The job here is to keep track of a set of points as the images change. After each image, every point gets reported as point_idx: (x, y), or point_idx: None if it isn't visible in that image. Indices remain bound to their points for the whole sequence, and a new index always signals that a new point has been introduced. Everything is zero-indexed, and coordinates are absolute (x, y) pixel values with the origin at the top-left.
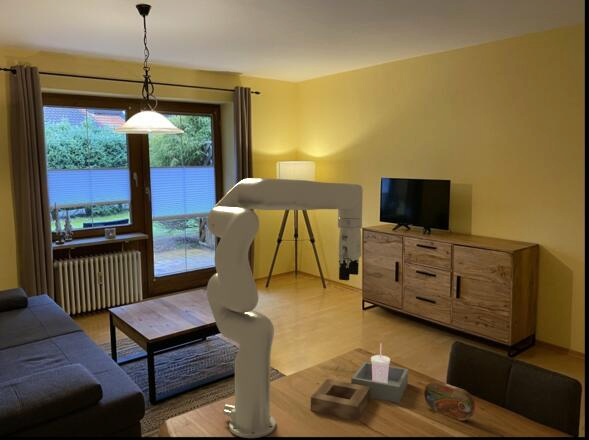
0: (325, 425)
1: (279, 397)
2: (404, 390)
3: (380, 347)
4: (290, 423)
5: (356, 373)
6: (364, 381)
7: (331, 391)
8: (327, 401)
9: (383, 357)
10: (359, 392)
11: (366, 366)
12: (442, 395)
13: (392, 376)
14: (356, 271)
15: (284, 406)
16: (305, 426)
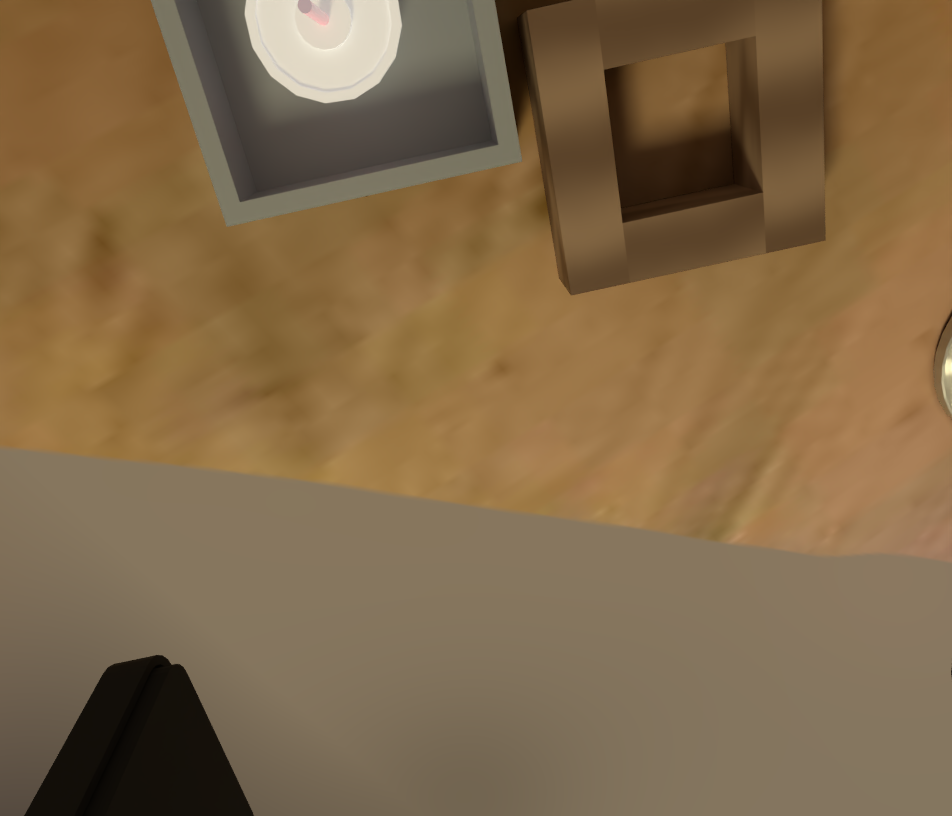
0: (896, 81)
1: (741, 419)
2: None
3: (316, 9)
4: (943, 233)
5: (436, 171)
6: (505, 68)
7: (649, 211)
8: (821, 140)
9: (276, 13)
10: (636, 32)
11: (244, 197)
12: None
13: (193, 5)
14: (158, 746)
15: (809, 349)
16: (942, 159)
